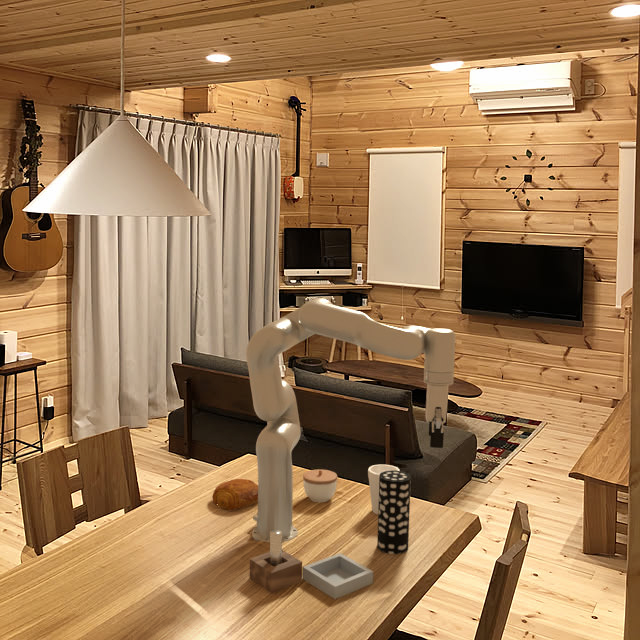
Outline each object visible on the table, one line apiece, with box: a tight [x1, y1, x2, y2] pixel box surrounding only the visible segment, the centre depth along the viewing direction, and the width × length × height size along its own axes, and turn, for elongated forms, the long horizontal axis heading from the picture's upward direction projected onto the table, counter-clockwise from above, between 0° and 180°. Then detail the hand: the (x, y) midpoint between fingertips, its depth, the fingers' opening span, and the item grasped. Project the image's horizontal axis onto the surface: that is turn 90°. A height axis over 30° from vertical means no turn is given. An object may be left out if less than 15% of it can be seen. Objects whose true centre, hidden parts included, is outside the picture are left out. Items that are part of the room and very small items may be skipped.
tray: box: [302, 552, 374, 600], centre depth 172 cm, size 12×12×4 cm
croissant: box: [212, 478, 258, 511], centre depth 222 cm, size 14×16×8 cm
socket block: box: [249, 549, 303, 595], centre depth 172 cm, size 9×9×6 cm
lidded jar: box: [302, 469, 338, 503], centre depth 225 cm, size 11×11×9 cm
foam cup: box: [367, 464, 401, 515], centre depth 216 cm, size 10×9×13 cm
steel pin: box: [269, 530, 283, 566], centre depth 171 cm, size 3×3×12 cm
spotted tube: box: [376, 470, 412, 555], centre depth 191 cm, size 8×8×20 cm
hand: (435, 441), depth 185 cm, fingers open, 9 cm apart
